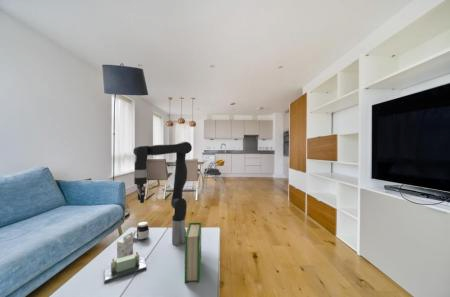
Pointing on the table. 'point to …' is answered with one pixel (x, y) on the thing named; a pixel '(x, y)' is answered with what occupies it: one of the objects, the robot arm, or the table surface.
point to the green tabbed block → (124, 263)
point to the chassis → (116, 275)
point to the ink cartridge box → (125, 246)
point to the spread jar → (142, 231)
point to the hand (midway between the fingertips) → (140, 201)
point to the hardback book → (193, 252)
